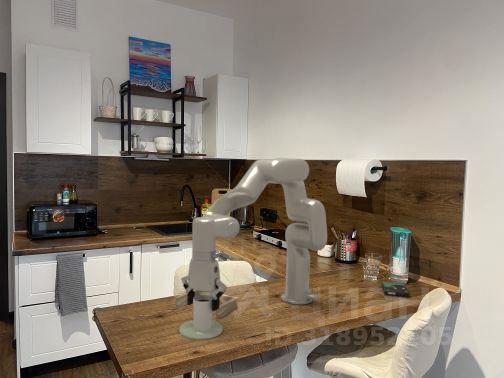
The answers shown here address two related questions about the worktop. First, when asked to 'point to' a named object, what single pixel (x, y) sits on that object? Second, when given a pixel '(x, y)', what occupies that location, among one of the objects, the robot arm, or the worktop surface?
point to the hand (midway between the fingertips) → (203, 306)
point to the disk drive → (395, 289)
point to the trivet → (190, 333)
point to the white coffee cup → (202, 313)
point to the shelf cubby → (225, 301)
